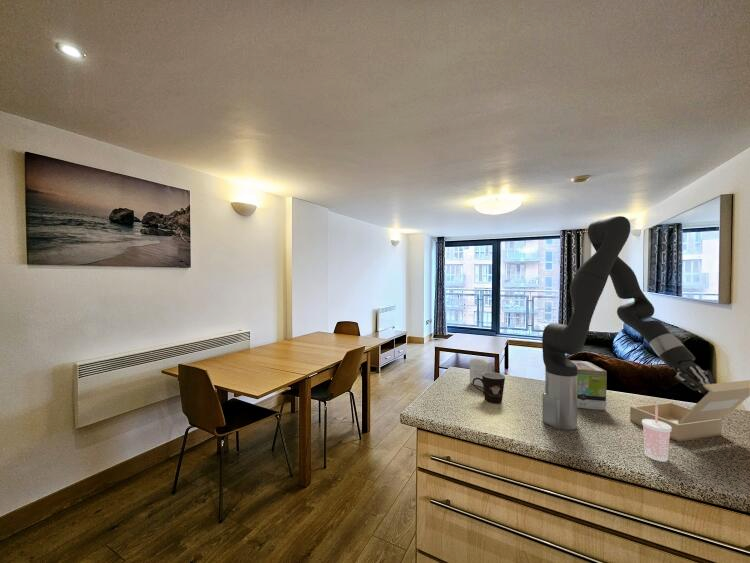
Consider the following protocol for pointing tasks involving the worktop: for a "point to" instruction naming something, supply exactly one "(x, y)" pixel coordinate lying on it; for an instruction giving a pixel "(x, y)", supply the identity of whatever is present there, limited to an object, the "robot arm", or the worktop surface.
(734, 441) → the worktop surface
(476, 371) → the photo printer
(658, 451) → the beverage cup
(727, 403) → the lid
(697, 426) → the mailer box
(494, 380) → the coffee mug
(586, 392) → the tea box
